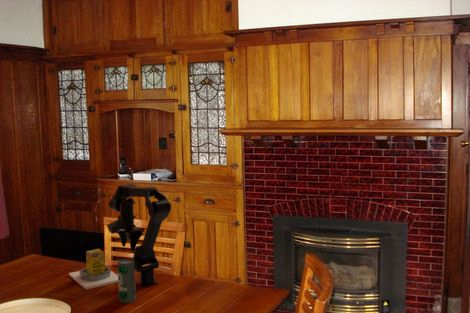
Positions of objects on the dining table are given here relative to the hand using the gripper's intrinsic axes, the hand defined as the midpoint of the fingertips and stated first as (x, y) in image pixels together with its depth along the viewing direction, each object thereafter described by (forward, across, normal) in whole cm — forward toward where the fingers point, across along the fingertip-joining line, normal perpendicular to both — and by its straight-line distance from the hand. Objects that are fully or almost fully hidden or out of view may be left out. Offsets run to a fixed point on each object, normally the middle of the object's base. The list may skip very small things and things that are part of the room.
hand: (128, 248), depth 226 cm
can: (+12, +26, -12) cm, 31 cm away
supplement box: (+11, -6, -13) cm, 18 cm away
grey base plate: (+12, -6, -13) cm, 19 cm away
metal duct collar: (+12, -6, -13) cm, 19 cm away
